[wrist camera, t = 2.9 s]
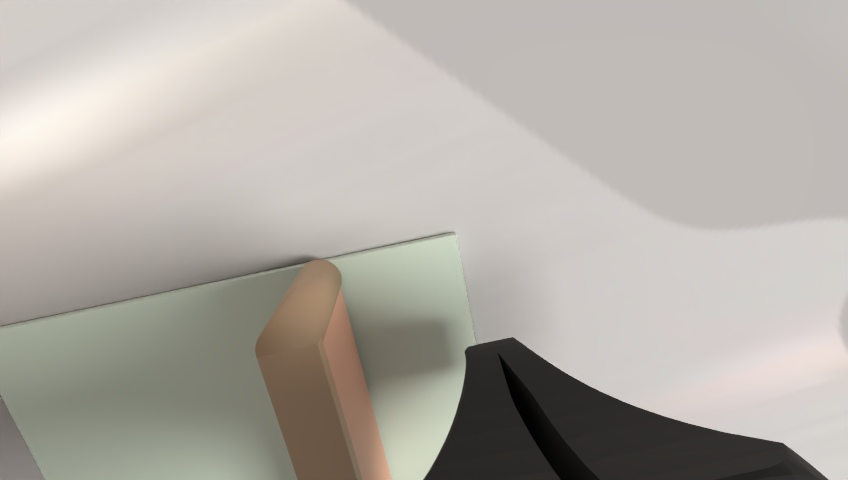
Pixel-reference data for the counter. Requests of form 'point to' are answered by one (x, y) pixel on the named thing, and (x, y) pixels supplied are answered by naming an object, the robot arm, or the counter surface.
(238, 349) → the card
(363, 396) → the hinged panel
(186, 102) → the counter surface
